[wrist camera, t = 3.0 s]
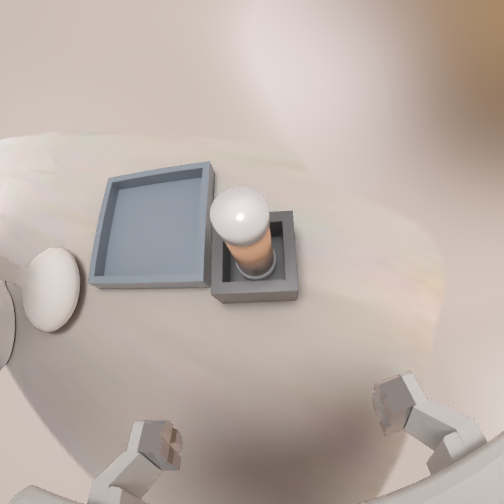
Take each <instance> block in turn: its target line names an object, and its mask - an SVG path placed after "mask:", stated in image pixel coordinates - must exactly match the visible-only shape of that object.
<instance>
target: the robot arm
mask: <svg viewBox="0 0 504 504" xmlns="http://www.w3.org/2000/svg"><path fill="white" fill-rule="evenodd" d="M14 334H15V315H14V307H13V302H12V299H11V296H10V293H9V291H8V290H7V288H6V285H5V280H1V279H0V369H1V368H2V367H3V366H4V365H5V364H6V363H7V361H8V359H9V357H10V354H11V351H12V347H13V342H14ZM374 390H375V393H374V394H373V398H372V401H373V407H374V410H375V413H376V415H377V416H379V417H381V420H380V425H381V428H382V430H383V433H384V435H385V436H386V435H389V434H392V433H395V432H397V431H400V430H403V429H404V430H405V431H406V432H407V433H409V434H410V435H412V436H413V437H415V438H416V439H418V440H419V441H421V442H422V443H424V444H425V445H427V446H428V447H429V448H431V449H433V450H434V453H433V454H432V456H431V457H430V458H429V459H428V461H427V466H428V468H429V471H430V473H431V476H429V477H427V478H424V479H422V480H420V481H418V482H416V483H413V484H411V485H409V486H406V487H404V488H402V489H399V490H397V491H394V492H391V493H389V494H386V495H383V496H381V497H378V498H375V499H372V500H369V501H366V502H362V503H359V504H504V431H503V432H501V433H500V434H499V435H497V436H496V437H494V438H493V439H492V440H490V441H489V442H487V440H486V439H485V437H484V435H483V433H482V431H481V430H480V428H479V426H478V424H477V423H476V421H475V419H474V418H471V417H469V416H467V415H465V414H463V413H461V412H459V411H456V410H454V409H452V408H450V407H448V406H446V405H444V404H442V403H440V402H438V401H436V400H434V399H432V398H431V399H428V398H427V397H426V395H425V393H424V391H423V390H422V388H421V386H420V384H419V383H418V381H417V379H416V378H415V376H414V374H413V373H412V372H411V371H406V372H404V373H401V374H399V375H395V376H393V377H390V378H387V379H385V380H382V381H379V382H376V383H375V384H374ZM172 426H173V424H172V423H171V422H170V421H169V420H158V421H148V420H136V421H135V422H134V423H133V427H132V431H131V435H130V439H129V443H128V447H127V451H123V452H122V453H121V454H120V455H119V456H118V457H117V458H116V459H115V460H114V461H113V462H112V463H111V464H110V465H109V466H108V467H107V468H106V469H105V470H104V471H103V472H102V473H101V474H100V475H99V476H98V477H97V478H96V479H95V480H94V481H93V482H92V486H91V490H90V495H89V499H88V503H87V504H147V503H145V502H143V501H142V500H141V498H142V497H143V496H144V494H145V493H146V492H147V490H148V489H149V488H150V486H151V485H152V484H153V482H154V481H155V480H156V478H157V477H158V476H159V474H160V473H161V470H180V461H181V457H180V456H179V454H178V453H179V451H180V450H181V449H182V437H181V435H180V432H179V431H178V430H177V429H175V428H173V427H172ZM9 504H83V503H79V502H76V501H73V500H70V499H67V498H65V497H62V496H59V495H56V494H54V493H51V492H49V491H46V490H44V489H41V488H39V487H37V486H33V485H31V486H28V487H26V488H25V489H23V490H22V491H21V492H19V493H18V494H17V495H15V496H14V497H13V498H12V499H11V501H10V503H9Z"/></svg>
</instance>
